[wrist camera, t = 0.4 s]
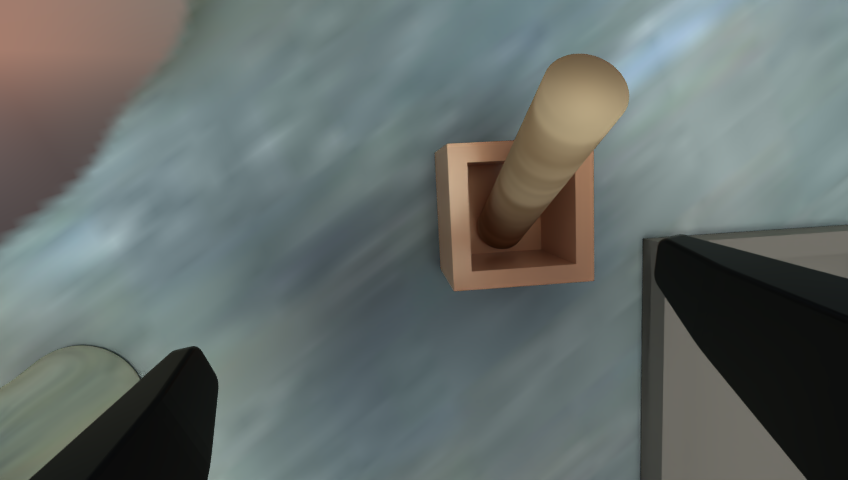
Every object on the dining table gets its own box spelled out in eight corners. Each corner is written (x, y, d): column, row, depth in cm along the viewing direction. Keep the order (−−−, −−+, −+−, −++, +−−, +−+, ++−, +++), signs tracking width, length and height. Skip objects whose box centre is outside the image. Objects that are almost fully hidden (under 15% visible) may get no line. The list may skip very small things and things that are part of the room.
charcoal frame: (849, 533, 28) (884, 560, 26) (639, 559, 27) (659, 588, 25) (874, 222, 25) (915, 226, 23) (643, 238, 24) (665, 243, 22)
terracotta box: (552, 261, 24) (594, 280, 19) (440, 268, 24) (453, 291, 19) (549, 146, 23) (593, 136, 18) (434, 152, 23) (446, 143, 18)
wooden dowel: (521, 246, 23) (642, 276, 12) (476, 249, 23) (557, 283, 12) (516, 124, 23) (636, 39, 12) (470, 126, 22) (547, 42, 11)
